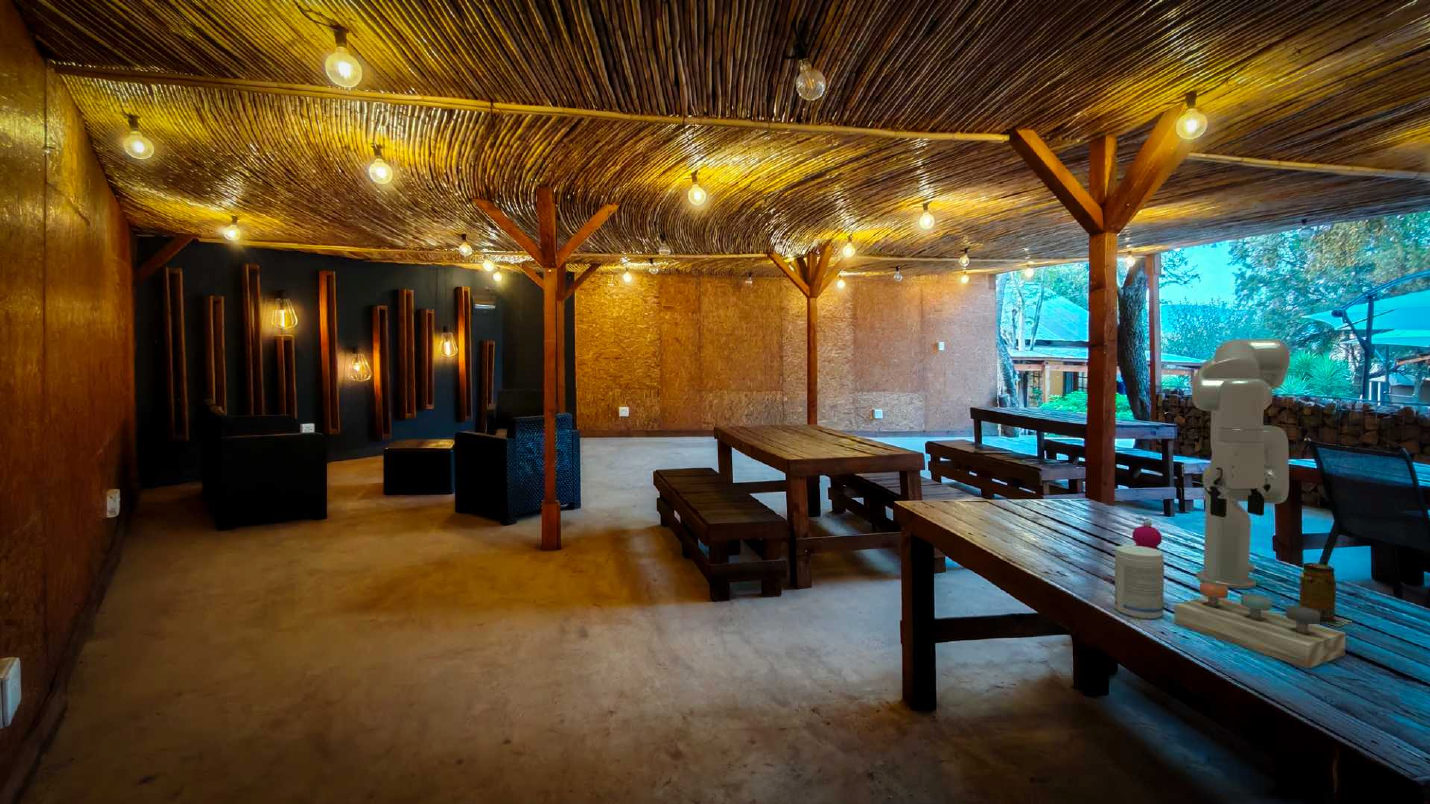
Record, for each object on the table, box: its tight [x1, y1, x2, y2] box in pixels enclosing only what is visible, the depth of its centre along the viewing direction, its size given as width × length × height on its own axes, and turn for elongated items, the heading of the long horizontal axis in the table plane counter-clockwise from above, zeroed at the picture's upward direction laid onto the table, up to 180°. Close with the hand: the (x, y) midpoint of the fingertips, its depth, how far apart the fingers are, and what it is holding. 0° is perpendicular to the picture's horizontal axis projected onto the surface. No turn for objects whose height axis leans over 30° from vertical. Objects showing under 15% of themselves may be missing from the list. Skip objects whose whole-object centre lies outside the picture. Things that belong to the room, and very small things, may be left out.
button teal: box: [1240, 593, 1273, 621], centre depth 138 cm, size 5×5×5 cm
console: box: [1173, 596, 1347, 670], centre depth 138 cm, size 14×24×4 cm, turn 25°
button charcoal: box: [1285, 605, 1321, 636], centre depth 131 cm, size 5×5×5 cm
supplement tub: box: [1114, 545, 1165, 619], centre depth 153 cm, size 10×10×15 cm
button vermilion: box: [1199, 582, 1229, 609], centre depth 145 cm, size 5×5×5 cm
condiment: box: [1298, 562, 1353, 627], centre depth 149 cm, size 7×8×12 cm
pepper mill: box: [1132, 519, 1163, 551], centre depth 160 cm, size 7×7×20 cm
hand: (1236, 515), depth 143 cm, fingers open, 9 cm apart
